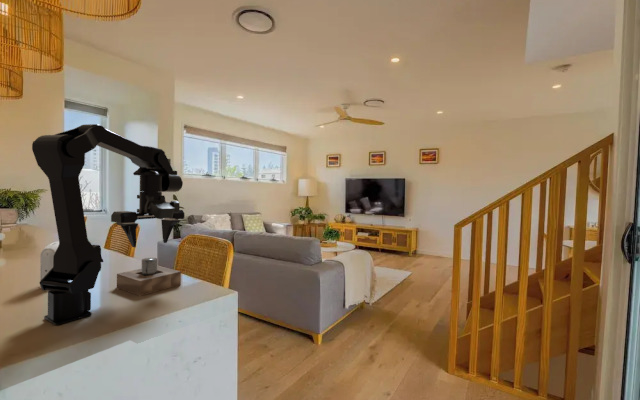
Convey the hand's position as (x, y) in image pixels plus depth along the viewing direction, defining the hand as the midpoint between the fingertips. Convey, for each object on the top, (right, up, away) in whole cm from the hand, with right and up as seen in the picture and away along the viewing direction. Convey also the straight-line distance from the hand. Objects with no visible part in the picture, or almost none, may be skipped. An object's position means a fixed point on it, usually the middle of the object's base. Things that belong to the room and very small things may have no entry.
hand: (150, 244), depth 89 cm
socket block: (0, -12, 0) cm, 12 cm away
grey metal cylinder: (0, -12, 0) cm, 12 cm away
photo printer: (-27, -12, 0) cm, 30 cm away
